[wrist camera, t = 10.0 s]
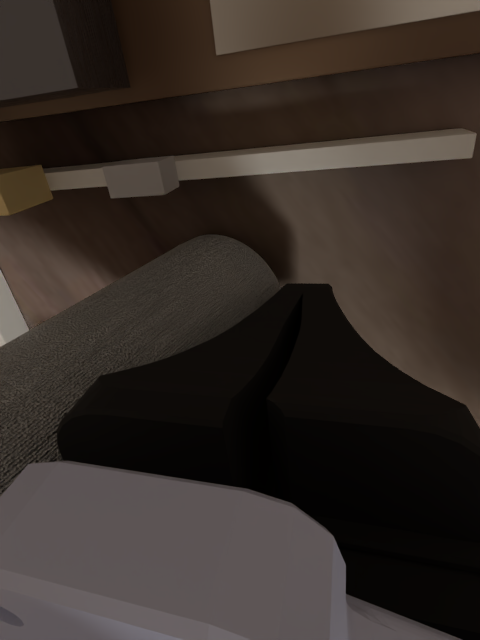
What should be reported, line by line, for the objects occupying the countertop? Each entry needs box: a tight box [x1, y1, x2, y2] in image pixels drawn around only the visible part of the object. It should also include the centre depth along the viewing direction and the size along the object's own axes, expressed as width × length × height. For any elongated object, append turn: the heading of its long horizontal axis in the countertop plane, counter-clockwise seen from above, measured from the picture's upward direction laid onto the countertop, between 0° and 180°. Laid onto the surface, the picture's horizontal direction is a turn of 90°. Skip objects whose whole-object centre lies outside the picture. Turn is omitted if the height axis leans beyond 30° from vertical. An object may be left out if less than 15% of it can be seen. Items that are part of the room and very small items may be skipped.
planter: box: [0, 234, 281, 497], centre depth 9 cm, size 4×4×10 cm
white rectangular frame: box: [0, 128, 477, 347], centre depth 12 cm, size 17×10×3 cm, turn 97°
